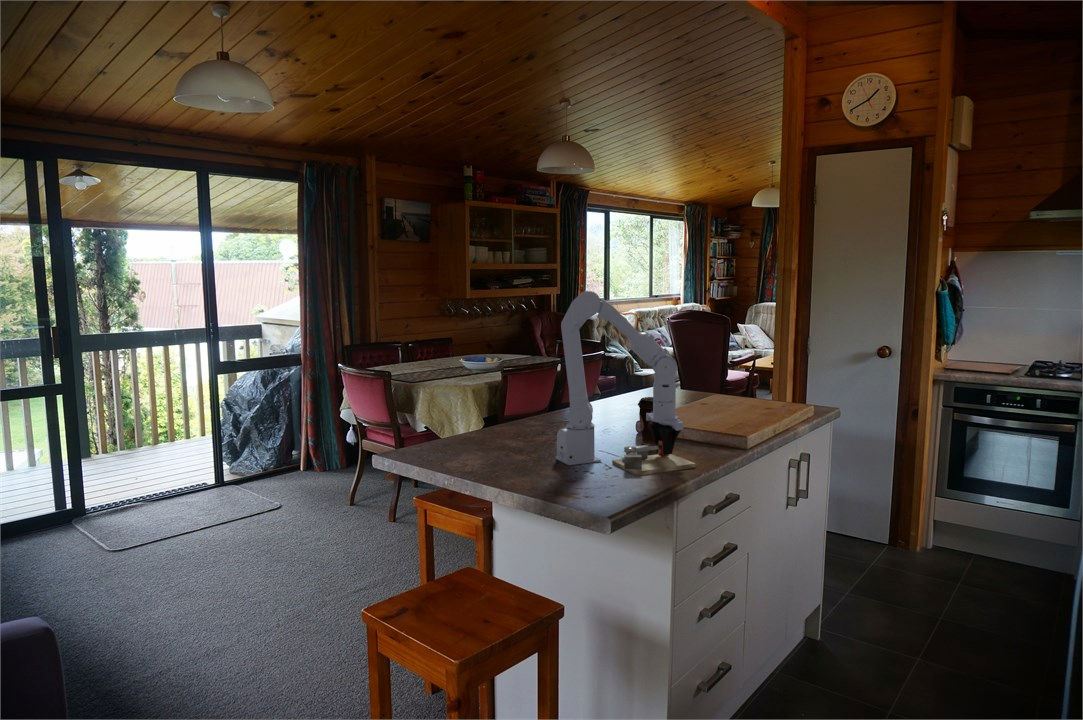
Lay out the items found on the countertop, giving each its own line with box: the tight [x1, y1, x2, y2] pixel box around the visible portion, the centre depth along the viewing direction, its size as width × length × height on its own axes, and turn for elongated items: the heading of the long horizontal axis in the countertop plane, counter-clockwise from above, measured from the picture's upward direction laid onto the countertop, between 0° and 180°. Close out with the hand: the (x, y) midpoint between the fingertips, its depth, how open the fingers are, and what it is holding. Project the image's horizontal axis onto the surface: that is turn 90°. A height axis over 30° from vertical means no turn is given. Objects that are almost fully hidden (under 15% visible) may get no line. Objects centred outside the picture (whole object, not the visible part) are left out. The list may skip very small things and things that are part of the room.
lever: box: [623, 439, 669, 460], centre depth 180 cm, size 13×3×4 cm, turn 113°
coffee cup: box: [637, 396, 654, 445], centre depth 201 cm, size 9×8×13 cm
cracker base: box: [611, 452, 697, 477], centre depth 177 cm, size 18×12×4 cm, turn 113°
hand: (663, 452), depth 182 cm, fingers open, 3 cm apart
